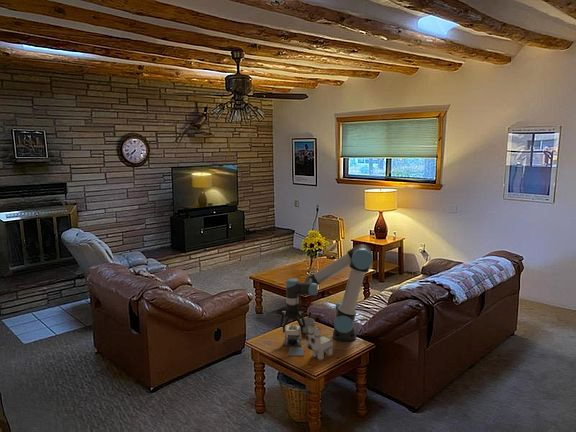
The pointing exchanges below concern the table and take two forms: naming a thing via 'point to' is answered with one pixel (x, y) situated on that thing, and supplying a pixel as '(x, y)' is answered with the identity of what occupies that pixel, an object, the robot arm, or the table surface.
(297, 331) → the cream ring
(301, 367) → the table surface
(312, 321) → the teacup
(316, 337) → the toy llama
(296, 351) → the slate mat
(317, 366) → the table surface
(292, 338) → the ring stand
